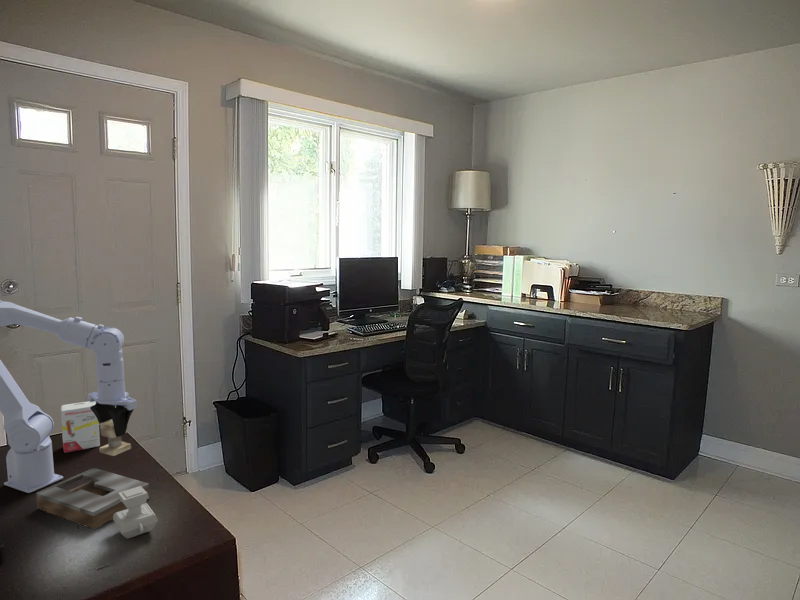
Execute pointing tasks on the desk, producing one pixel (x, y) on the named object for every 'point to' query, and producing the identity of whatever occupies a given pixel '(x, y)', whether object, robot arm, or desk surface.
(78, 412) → the ink box
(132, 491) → the stamp
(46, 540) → the desk surface
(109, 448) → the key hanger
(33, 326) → the robot arm
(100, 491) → the keyhole base
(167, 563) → the desk surface
